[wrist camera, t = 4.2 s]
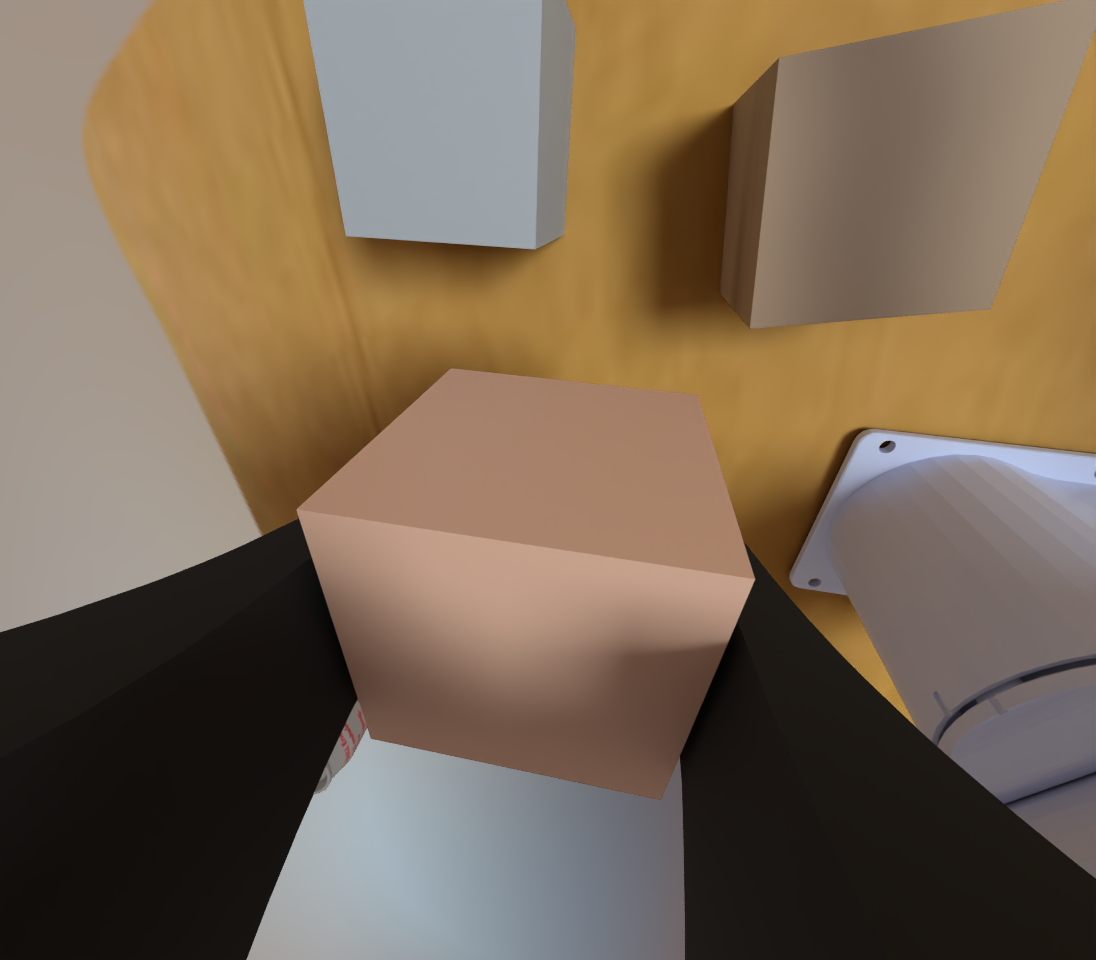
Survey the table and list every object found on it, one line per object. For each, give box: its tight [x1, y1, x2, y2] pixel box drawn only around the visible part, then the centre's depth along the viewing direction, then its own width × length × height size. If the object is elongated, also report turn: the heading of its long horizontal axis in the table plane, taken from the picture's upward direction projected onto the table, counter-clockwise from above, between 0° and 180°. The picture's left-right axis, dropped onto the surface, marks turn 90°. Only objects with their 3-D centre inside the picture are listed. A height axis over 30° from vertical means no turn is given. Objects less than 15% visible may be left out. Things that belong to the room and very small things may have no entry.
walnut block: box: [720, 0, 1096, 329], centre depth 11 cm, size 5×5×5 cm
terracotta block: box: [296, 368, 755, 800], centre depth 8 cm, size 5×5×5 cm
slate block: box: [303, 0, 576, 249], centre depth 12 cm, size 5×5×5 cm
